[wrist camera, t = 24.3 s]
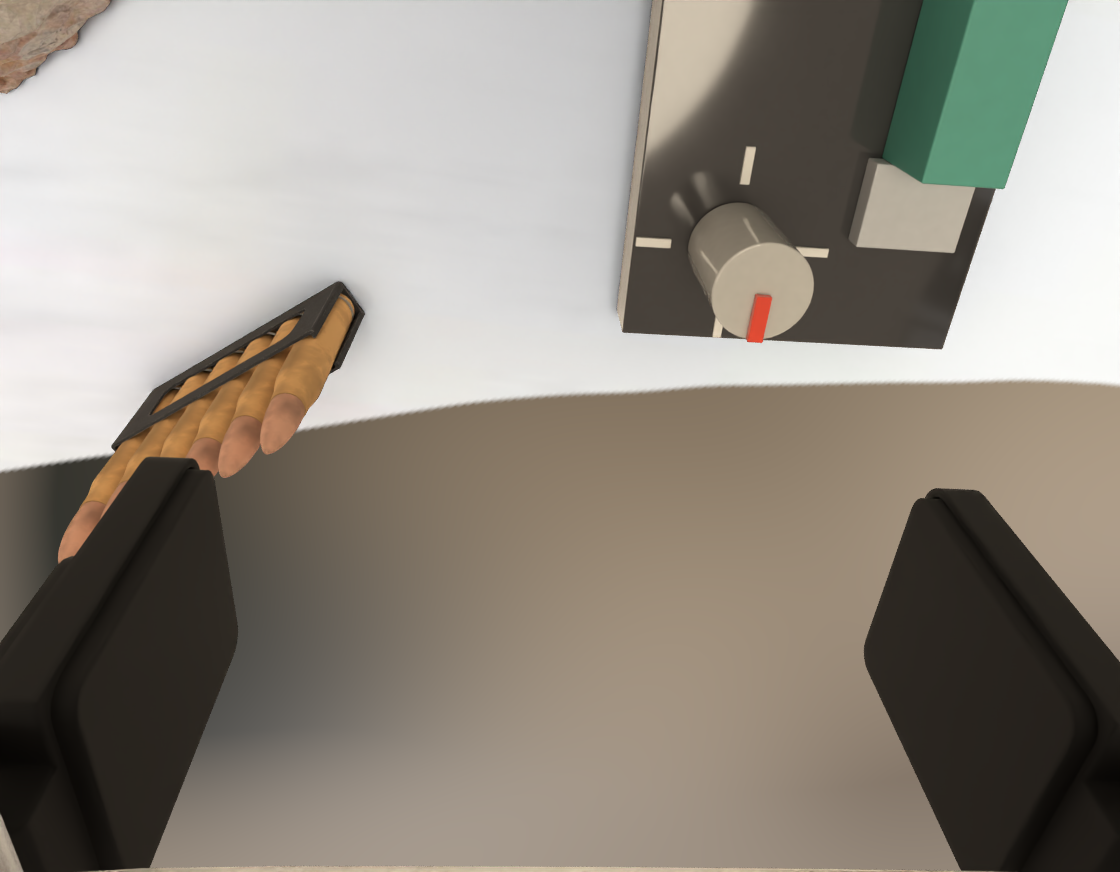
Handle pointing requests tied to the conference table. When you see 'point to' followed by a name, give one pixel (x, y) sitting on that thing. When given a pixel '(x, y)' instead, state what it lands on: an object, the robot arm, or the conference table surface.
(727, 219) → the dial
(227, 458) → the ammunition clip
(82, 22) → the geological specimen
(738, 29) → the hob
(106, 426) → the conference table surface
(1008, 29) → the teal post
